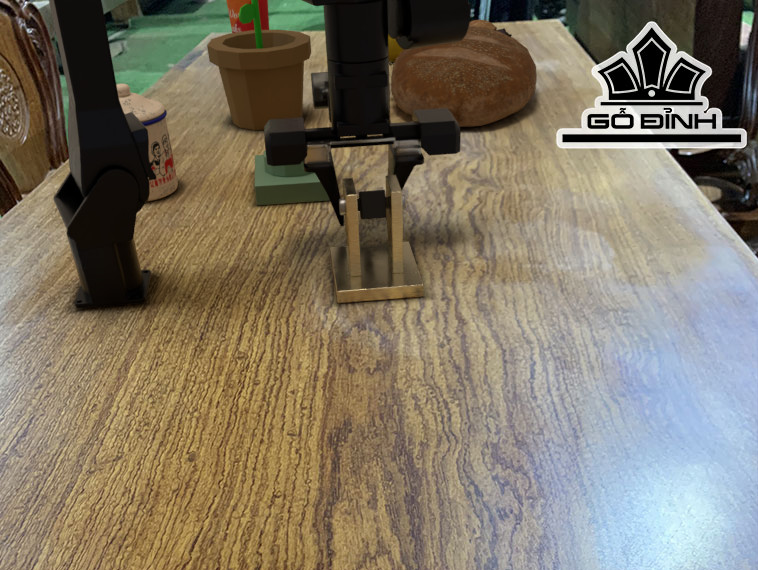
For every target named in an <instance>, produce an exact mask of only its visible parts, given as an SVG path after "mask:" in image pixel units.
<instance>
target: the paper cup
mask: <svg viewBox="0 0 758 570" xmlns="http://www.w3.org/2000/svg"><path fill="white" fill-rule="evenodd" d="M225 1H226V6H227V12H228V19H229V23H230V28H231V33H236V32H243V31H250V30H255V29H254V21H253V20H252V21H251V22H250V23H246V24H243V23H241V22H240V20H239V12H240V8H241V7H242V6H244V5H245V4H252V3H251V0H225ZM258 4H259V13H260V22H261V30H270V18H269V17H270V15H269V0H258Z"/></svg>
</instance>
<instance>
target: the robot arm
mask: <svg viewBox="0 0 758 570" xmlns="http://www.w3.org/2000/svg"><path fill="white" fill-rule="evenodd" d="M301 1H303V2H305V3H307V4H309V5H311V6H314V7H323V8H322V9H323V22H324V37H325V48H326V49H325V52H326V65H327V66H326V67H327V71H320V72H311V73H310V81H311V93H312V105H313V109H314V110H323V109H325V110H328V120H329V123H330V124H331V125H330V126H325V127H310V128H306V127H305V119H304V117H303V116H302V117H301V118H286V119H270V120H269V121H268V122H267V124H266V125H265V126H264V130H263V131H264V132H263V133H264V136H263V139H264V148H265V150H266V158H267V165H271V166H283V165H298V164H301V163H302V161H303V165H304V171H305V172H309V173H310V172H314V173H315V174H316V176H317V177H318V179H319V181H320V182H321V184H322V186H323V188H324V189H325V191H326V193H327V195H328V197H329V199H330V200H329V202H330V204H331V207H332V209H333V211H334V215H335V217H336V220H337V222H338V224H339V226H340V227H345V216H344V215H340V209H339V199H342V198H341V193H340V189H339V183H338V178H337V173H336V168H335V163H334V158H333V153H332V149H345V148H359V147H374V146H384V145H385V146H387V159H388V160H387V161H388V162H387V174H386V176H387V175H396V176H397V179H398V182H399V185H400V187H401V190H402V191H403V190H404V187H405V186H406V183H407V182H408V179H409V178H410V176H411V174H412V172H413V171H414V168H415V167H416V166H421V165H424V164H425V156H424V154H423V152H422V150H423V151H424V152H425V153H426V154H427V155H428V156H443V155H456V154H458V153H460V152H461V140H462V139H461V137H462V135H461V134H462V133H461V127H460V126H459V124H458V122H457V121H456V119H455V117H454V116H453V114H452V113H451V112H450V111H449V110H448V109H447V108H441V109H425V110H414V111H413V117H412V116H411V119H412V120H411V121H401V122H391V93H390V92H391V91H390V89H391V86H390V60H389V45H388V34H389V36H390V37H391V38H392V39H395V40H396V42H397V43H398V45H399V46H400V47H401V48H402V49H404V50H406V49H413V48H420V47H427V46H434V45H441V44H448V43H455V42H460V41H462V40H463V39H464V37H465V36H466V34H467V31H468V28H469V24H470V22H471V15H472V5H471V3H470V2H469V0H301ZM48 2H49V8H50V13H51V17H52V21H53V22H52V23H53V28H54V31H55V37H56V41H57V46H58V51H59V55H60V60H61V65H62V70H63V74H64V78H65V84H66V89H67V93H68V94H67V95H68V110H67V111H68V112H67V115H68V116H67V146H68V147H67V148H68V150H67V151H68V167H69V172H68V174H67V175H66V177H65V179H64V180H63V182H62V183H61V185H60V186H59V188H58V189H57V191H56V192H55V194H54V195H53V202H54V204H55V207H56V209H57V211H58V213H59V215H60V218H61V219H62V222H63V224H64V227H65V228H66V232H65V233H66V237H67V241H68V244H69V248H70V252H71V255H72V258H73V262H74V265H75V269H76V272H77V276H78V279H79V282H80V286H79V288H78V291H77V293H76V296H75V299H74V300H73V301H74V302H73V304H74V307H75V308H76V309H87V308H102V307H114V306H125V305H126V306H128V305H140V304H144V303H146V301H147V298H148V293H149V290H150V286H151V285H150V284H151V280H152V276H153V274H152V271H151V269H142V268H141V263H140V259H139V255H138V251H137V247H136V242H135V237H134V236H135V229H136V221H137V214H138V213H139V212H140V211H142V209H143V207H144V206H145V205H146V203H148V202H149V201H148V198H149V195H150V183H149V179H148V178H151V179H153V180H155V179H156V178H157V177H156V175H155V173H154V172H153V170H152V168H151V165H150V161H149V138H148V130H147V129H146V127H145V126H144V125H143V124H142V123H141V122H140V120H139V119H138V118H137V117H136V116H135V115H134V113H133V112H130V113H127V114H124V112H123V109H122V107H121V104H120V101H119V97H118V91H117V86H116V84H117V81H116V75H115V69H114V63H113V58H112V52H111V46H110V41H109V36H108V29H107V24H106V17H105V13H104V7H103V1H102V0H48ZM265 150H264V151H265ZM385 222H386V223H387V215H386V218H385Z"/></svg>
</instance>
